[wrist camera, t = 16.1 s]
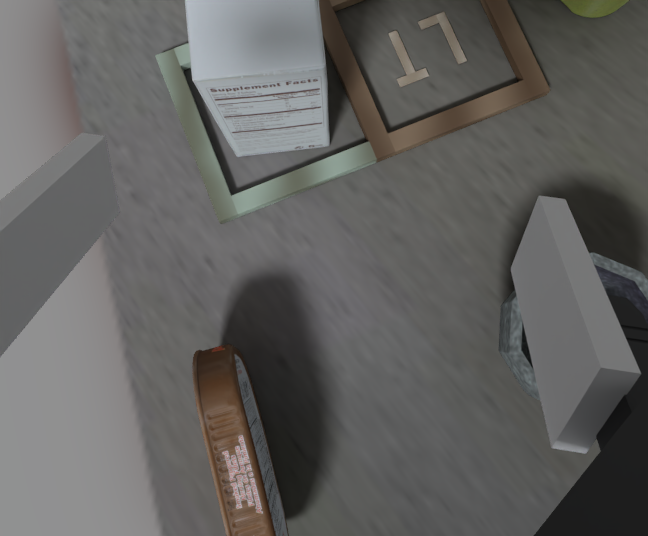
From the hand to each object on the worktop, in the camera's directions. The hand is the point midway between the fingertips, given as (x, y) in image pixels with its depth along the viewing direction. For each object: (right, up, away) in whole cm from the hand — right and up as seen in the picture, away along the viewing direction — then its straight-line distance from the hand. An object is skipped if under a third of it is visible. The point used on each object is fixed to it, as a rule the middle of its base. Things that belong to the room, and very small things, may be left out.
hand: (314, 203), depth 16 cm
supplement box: (-3, +10, +24) cm, 27 cm away
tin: (-5, -15, +21) cm, 26 cm away
